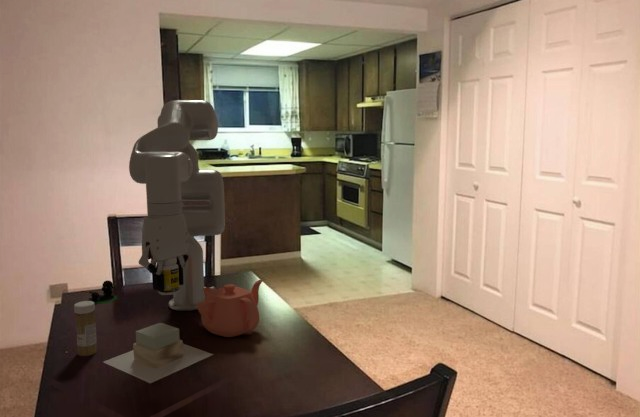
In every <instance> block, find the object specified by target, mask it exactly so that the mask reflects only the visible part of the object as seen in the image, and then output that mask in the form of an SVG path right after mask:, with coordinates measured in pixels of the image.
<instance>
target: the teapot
mask: <svg viewBox="0 0 640 417" xmlns="http://www.w3.org/2000/svg"><path fill="white" fill-rule="evenodd" d="M263 282H264V279H263V278H262V279H259V280H256V281H255V282H254V283H253V286H252V288H251V291H250V290H248V289H247V288H243V287H240V286H236V285H235V284H233V283H228V284H225V285H223V287H218V288H215V290H211V288H210V287H209V286H208V287H207V286H205V287H206V288H203V291H204V295H205V300H204V301H201V302H199V303H198V305H197V308H198V309H197V311H198V313H199V314H200V315H201V323H202V324H201V325H202V326H203V327H204V329H206V330H207V331H208V332H210V333H211V334H212V335H213V334H214V335H217V336H221V337H225V338H234V337H237V336H240V335H247V336H248V335H252V334H253V333H254V332H253V330H255V329H256V328H257V326H258V325H259V323H260V313H259V309H258V305H259V300H260V299H259V297H260V296H259V290H260V286H261V284H262V283H263Z"/></svg>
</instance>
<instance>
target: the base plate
mask: <svg viewBox="0 0 640 417" xmlns="http://www.w3.org/2000/svg"><path fill="white" fill-rule="evenodd" d="M212 356H214V353H210V352H208V351H205V350H202V349H199V348H196V347H194V346H191V345H188V344H185V343H183V357H181V358H179V359H176V360H174V361H172V362H170V363H167V364H165V365H163V366H160V367H158V368H156V369H155V368H153V367H150V366H148V365H145V364H143V363H141V362H138V361H136V360H134V350H133V349H132V350H129V351H127V352H125V353H123V354H120V355H119V354H118V355H117V356H115V357H112V358H110V359H107V360H104V361H102V363H104V364H106V365H108V366H110V367H113V368H114V369H116V370H119V371H121V372H124V373H126V374H128V375H131V376H133V377H135V378H137V379H139V380H141V381H144V382H146V383H148V384H152V383H154V382H156V381H159V380H161V379H164V378H165V377H168V376H170V375H172V374H175V373H177V372H178V371H181V370H183V369H185V368H187V367H190V366H192V365H193V364H196V363H198V362H200V361H202V360H205V359H207V358H209V357H212Z"/></svg>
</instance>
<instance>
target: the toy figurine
mask: <svg viewBox="0 0 640 417" xmlns="http://www.w3.org/2000/svg"><path fill="white" fill-rule="evenodd" d="M113 289H114V283H113V282H112V280H107V279H106V280H104V281H103V282H102V287H101V292H100V293H98V292H97V291H89V292H88V294H91V297H89V298H88V299H87V300H86V301H93V302H94V304H95V305H100V304H101V305H103V304H107V303H112V302H114V301H113V300H115V299H116V298H117V297H118V296H117V295H115V294H113ZM114 295H115V296H114ZM116 296H117V297H116ZM117 299H118V298H117ZM117 299H116V300H117ZM116 300H115V301H116ZM111 301H112V302H111Z"/></svg>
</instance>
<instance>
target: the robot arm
mask: <svg viewBox="0 0 640 417" xmlns="http://www.w3.org/2000/svg"><path fill="white" fill-rule="evenodd" d="M218 122H219V121H218V118H217V113H216V111H215V109H214V107H213V105H212V104H211V103H210V102H209V101H206V100H204V99H203V100H199V99H195V100H193V99H192V100H191V99H190V100H189V99H183V100H182V99H177V100H170V101H168V102H166V103H165V104H164V105H163V106H162V107H161V111H160V114H159V115H158V117H157V126H156V128H154V129H152V130H150V131H149V132H146V133H145V134H143V135H142V136H140V137H139V138H138V139H137V140H136V141H135V142H134V145H133V147H132V150H131V154H130V158H129V163H128V169H129V170H128V171H129V176H130V177H131V179H132V180H133V182H135V183H137V184H140V185H142V184H143V185H145V189H146V190H145V192H146V210H147V214H146V215H147V216H144V218H143V223H142V232H141V256H140V258H139V259H138V264H139V265H141V267H144V268H145V269H146V270H147V271H149V273H150V274H151V277H152V278H151V279H152V280H151V281H152V282H151V283H152V289H153V290H155V291H157V292H158V291H164V275H163V274H161V271H162V265H163V261H164V260H168V259H170V258H174V257H176V258H177V263H176V264H177V265H178V268H179V292H178V293H176V294H172V295H173V296H172V297H173V298H172V299H171V300H169V302H168V307H169V308H170V309H171V310H174V311H180V312H181V311H182V312H183V311H184V312H185V311H195V310H197V311H198V308H197V305H198V303H199V302H201V301H204V300H205V295H204V291H203V288H206V287H207V286H205V274H204V273H205V271H204V251H203V247H202V245H201V244H200V242H199V241H198V240H197V239H196V238H195V237H201V236H203V237H204V236H205V237H206V236H218V235H221V234H223V233H224V231H225V228H226V208H225V207H226V206H225V205H226V204H225V203H226V202H225V186H224V179H223V176H222V174H221V172H220V171H218V170H216V169H215V170H214V169H200V166H199V154H198V151H197V150H196V148H195V147H194V146H193V144H192V143H190V141H212V140H214V139H215V138H216V137H217V135H218V131H219V123H218ZM190 201H191V202H192V201H193V202H198V201H199V202H200V201H201V202H203V201H205V202H208V203H209V204H200V205H199V204H189V205H188V204H187V205H186V204H185V202H190ZM149 260H150V262H149ZM209 288H211V290H215V289H216V287H215V286H211V287H209Z"/></svg>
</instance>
